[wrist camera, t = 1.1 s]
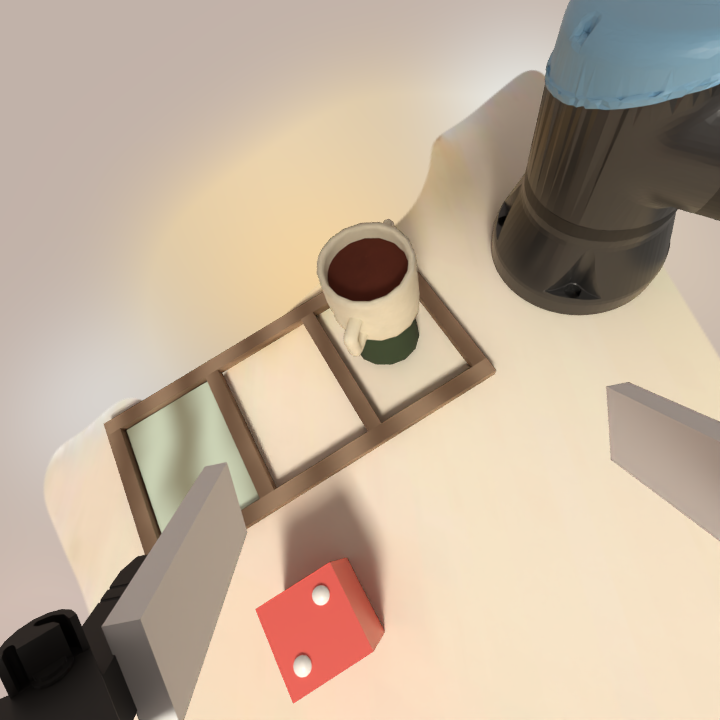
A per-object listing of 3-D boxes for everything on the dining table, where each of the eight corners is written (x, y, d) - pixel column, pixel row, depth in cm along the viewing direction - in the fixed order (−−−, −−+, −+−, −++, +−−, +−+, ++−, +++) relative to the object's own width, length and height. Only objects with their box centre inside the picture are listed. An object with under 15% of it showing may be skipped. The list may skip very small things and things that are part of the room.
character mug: (368, 283, 45) (341, 194, 33) (436, 295, 43) (434, 206, 31) (335, 381, 42) (292, 321, 30) (407, 399, 40) (392, 342, 28)
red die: (346, 557, 36) (329, 562, 30) (384, 631, 34) (373, 652, 28) (284, 597, 36) (254, 609, 30) (317, 675, 33) (292, 704, 28)
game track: (399, 252, 46) (398, 246, 45) (494, 373, 39) (496, 370, 38) (110, 426, 44) (103, 423, 43) (161, 582, 38) (154, 583, 37)
